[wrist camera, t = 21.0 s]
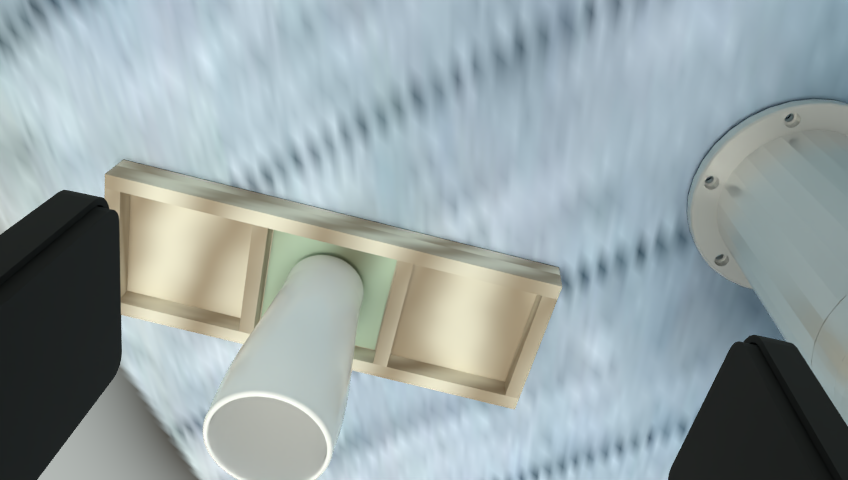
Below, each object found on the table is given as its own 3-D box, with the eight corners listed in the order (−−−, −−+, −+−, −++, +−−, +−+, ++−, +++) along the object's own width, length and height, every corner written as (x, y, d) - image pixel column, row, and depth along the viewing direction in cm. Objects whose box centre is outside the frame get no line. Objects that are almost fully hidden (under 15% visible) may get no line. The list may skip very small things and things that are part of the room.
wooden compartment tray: (558, 267, 47) (562, 286, 45) (513, 386, 52) (514, 409, 50) (123, 159, 46) (104, 173, 44) (119, 291, 51) (102, 310, 49)
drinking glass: (321, 340, 50) (263, 509, 37) (258, 272, 48) (172, 428, 35) (395, 296, 48) (361, 460, 35) (332, 223, 46) (270, 369, 33)
